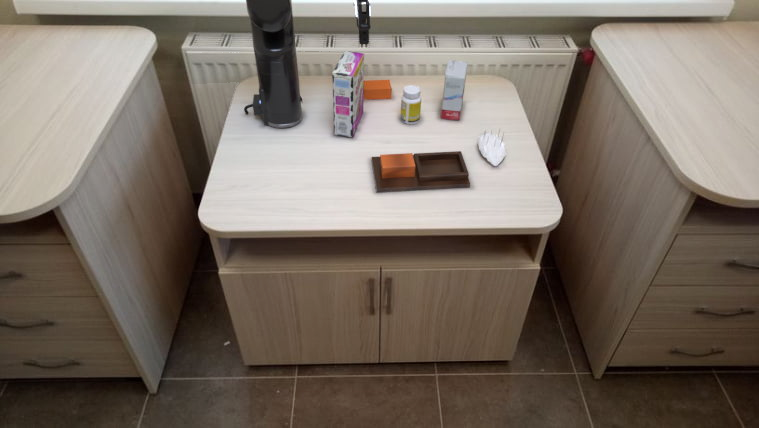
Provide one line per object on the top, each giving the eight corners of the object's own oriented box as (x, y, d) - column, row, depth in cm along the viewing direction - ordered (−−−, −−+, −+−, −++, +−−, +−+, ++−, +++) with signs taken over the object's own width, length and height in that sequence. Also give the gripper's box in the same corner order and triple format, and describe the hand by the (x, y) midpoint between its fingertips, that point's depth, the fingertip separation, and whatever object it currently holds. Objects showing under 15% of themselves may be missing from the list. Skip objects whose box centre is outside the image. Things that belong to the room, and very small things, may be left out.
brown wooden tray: (376, 192, 114) (376, 178, 111) (371, 160, 121) (371, 145, 119) (469, 187, 115) (472, 172, 113) (459, 155, 123) (461, 141, 121)
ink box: (459, 121, 133) (465, 78, 125) (439, 118, 134) (444, 76, 126) (462, 103, 139) (468, 61, 131) (443, 100, 140) (448, 58, 132)
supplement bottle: (422, 117, 134) (425, 87, 129) (415, 126, 131) (417, 96, 126) (404, 112, 136) (406, 82, 130) (397, 121, 133) (398, 91, 127)
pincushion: (473, 135, 129) (477, 115, 125) (499, 135, 129) (503, 115, 125) (481, 167, 120) (485, 146, 117) (508, 167, 121) (513, 146, 117)
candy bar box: (354, 138, 127) (353, 76, 116) (333, 136, 128) (330, 73, 117) (364, 113, 135) (364, 52, 124) (345, 110, 136) (343, 49, 125)
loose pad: (364, 99, 140) (364, 89, 138) (362, 90, 143) (362, 80, 141) (391, 98, 140) (391, 88, 138) (389, 89, 144) (389, 79, 141)
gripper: (341, -49, 120) (345, 22, 131) (344, -25, 109) (348, 50, 121) (375, -50, 120) (376, 21, 131) (381, -26, 110) (381, 48, 121)
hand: (362, 35), depth 126 cm, fingers open, 8 cm apart
